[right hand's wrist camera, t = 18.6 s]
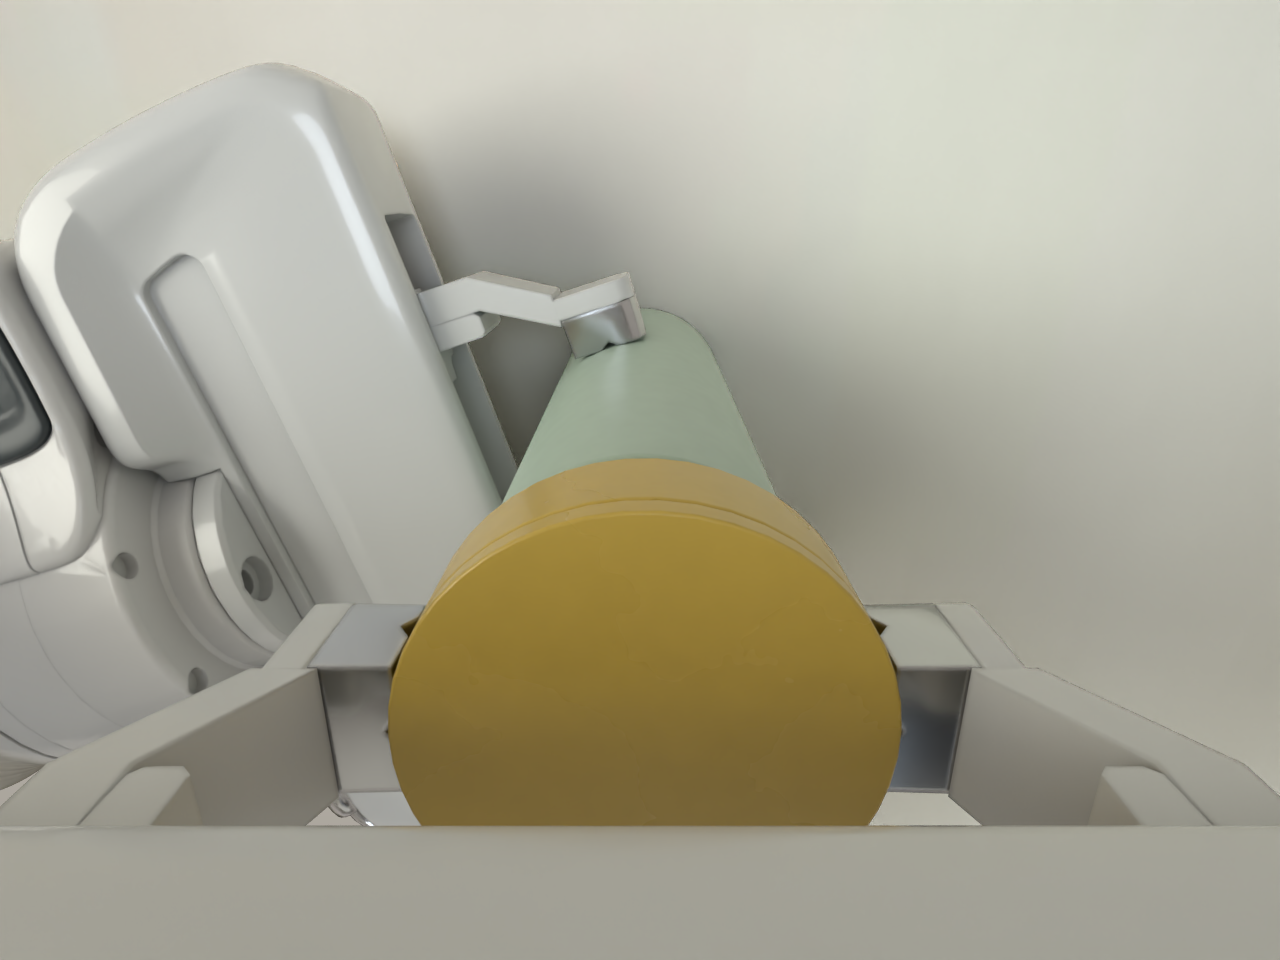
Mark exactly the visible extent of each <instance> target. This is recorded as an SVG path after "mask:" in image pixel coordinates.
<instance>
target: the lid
mask: <svg viewBox="0 0 1280 960" xmlns="http://www.w3.org/2000/svg"><path fill="white" fill-rule="evenodd" d="M901 731H902V722H901V699H900V694H899V689H898V683H897V678H896V673H895V670H894V668H893V665H892V662H891V659H890V657H889V654H888V651H887V649H886V646H885V644H884V642H883V640H882V639H881V637H880V635H879V633H878V632H877V630H876V628H875V626H874V624H873V623H872V621H871V619H870V617H869V615H868V614H867V612H866V610H865V608H864V607H863V605H862V603H861V601H860V599H859V598H858V596H857V594H856V592H855V590H854V589H853V587H852V585H851V583H850V582H849V580H848V578H847V576H846V574H845V573H844V571H843V569H842V567H841V566H840V564H839V562H838V560H837V558H836V557H835V555H834V553H833V552H832V550H831V549H830V548H829V546H828V545H827V544H826V543H825V541H824V540H823V539H822V537H821V536H820V535H819V533H818V532H817V531H816V530H815V529H814V528H813V527H812V526H811V525H810V524H809V523H808V522H807V521H806V520H805V519H804V518H803V517H802V516H801V515H800V514H799V513H798V512H797V511H795V510H794V509H793V508H791V507H790V506H788V505H787V504H786V503H784V502H783V501H782V500H780V499H779V498H778V497H776V496H775V495H773V494H772V493H770V492H768V491H766V490H764V489H763V488H761V487H759V486H757V485H755V484H753V483H751V482H750V481H748V480H746V479H743V478H740V477H738V476H735V475H732V474H730V473H727V472H725V471H722V470H719V469H716V468H712V467H708V466H703V465H699V464H695V463H691V462H686V461H677V460H668V459H659V458H639V459H620V460H612V461H605V462H598V463H592V464H589V465H585V466H581V467H578V468H574V469H570V470H566V471H563V472H561V473H559V474H556V475H554V476H551V477H549V478H546V479H544V480H541V481H539V482H537V483H535V484H533V485H531V486H530V487H528V488H526V489H524V490H523V491H521V492H519V493H517V494H516V495H514V496H512V497H511V498H509V499H508V500H507V501H505V502H504V503H503V504H502V505H500V506H499V507H498V508H496V509H495V510H494V511H492V512H491V513H490V514H489V515H487V516H486V517H485V519H484V520H483V521H482V522H481V523H480V524H479V525H478V526H477V527H476V528H475V529H474V530H473V531H472V532H471V533H470V534H469V535H468V536H467V538H466V539H465V540H464V542H463V543H462V544H461V546H460V547H459V549H458V550H457V551H456V553H455V554H454V555H453V557H452V559H451V561H450V562H449V564H448V566H447V568H446V570H445V572H444V573H443V575H442V577H441V579H440V581H439V583H438V585H437V586H436V588H435V590H434V592H433V594H432V596H431V598H430V599H429V601H428V603H427V605H426V607H425V609H424V611H423V612H422V614H421V616H420V618H419V620H418V622H417V623H416V625H415V627H414V629H413V631H412V633H411V635H410V637H409V639H408V641H407V643H406V644H405V646H404V648H403V650H402V653H401V656H400V659H399V662H398V665H397V668H396V670H395V673H394V676H393V680H392V686H391V692H390V698H389V704H388V737H389V744H390V750H391V756H392V763H393V766H394V769H395V772H396V775H397V779H398V782H399V785H400V788H401V790H402V792H403V794H404V796H405V798H406V800H407V803H408V805H409V807H410V809H411V811H412V813H413V814H414V816H415V817H416V819H417V820H418V822H419V823H420V825H421V826H868V825H869V823H870V822H871V820H872V819H873V817H874V816H875V814H876V813H877V811H878V809H879V807H880V805H881V803H882V801H883V799H884V797H885V794H886V792H887V790H888V788H889V786H890V783H891V780H892V776H893V773H894V770H895V766H896V763H897V760H898V753H899V746H900V739H901Z"/></svg>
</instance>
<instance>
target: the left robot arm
mask: <svg viewBox="0 0 1280 960" xmlns="http://www.w3.org/2000/svg"><path fill="white" fill-rule="evenodd" d="M500 315H502V316H507V317H512V318H517V319H522V320H527V321H532V322H537V323H542V324H547V325H552V326H557V327H562V326H563V327H564V330H565V333H566V335H567V338H568V341H569V343H570V346H571V349H572V351H573V354H574V357H575V359H578V358H581V357H585V356H588V355H591V354H594V353H597V352H601V351H602V350H603V349H604V347H605V346H606V345H607V343H608V342H611V343H614V344H617V345H622V344H625V343H628V342H631V341H634V340H637V339H639V338H641V337H643V336H644V335H646V327H645V324H644V320H643V317H642V314H641V310H640V307H639V303H638V300H637V297H636V293H635V291H634V287H633V284H632V281H631V278H630V275H629V272H623V273H619V274H615V275H612V276H609V277H606V278H603V279H600V280H597V281H594V282H591V283H588V284H585V285H582V286H579V287H576V288H573V289H570V290H567V291H564V292H561V291H560V288H559V287H555V286H550V285H546V284H541V283H537V282H532V281H528V280H523V279H519V278H515V277H510V276H506V275H501V274H497V273H492V272H488V271H481V272H478V273H475V274H472V275H469V276H466V277H463V278H460V279H457V280H454V281H451V282H448V283H446V284H444V282H443V279H442V277H441V274H440V272H439V269H438V266H437V264H436V261H435V259H434V256H433V254H432V251H431V249H430V246H429V244H428V241H427V239H426V236H425V234H424V231H423V229H422V226H421V224H420V221H419V219H418V216H417V214H416V211H415V209H414V206H413V204H412V201H411V199H410V196H409V194H408V191H407V189H406V186H405V184H404V181H403V179H402V176H401V174H400V171H399V169H398V166H397V164H396V161H395V159H394V156H393V154H392V151H391V149H390V146H389V144H388V141H387V139H386V136H385V133H384V131H383V128H382V126H381V123H380V121H379V119H378V116H377V114H376V112H375V110H374V109H373V108H372V106H371V105H370V104H369V103H368V102H367V101H366V100H365V99H364V98H362V97H361V96H359V95H357V94H355V93H354V92H352V91H350V90H348V89H346V88H344V87H343V86H341V85H339V84H337V83H335V82H333V81H332V80H330V79H328V78H325V77H323V76H321V75H319V74H316V73H313V72H311V71H308V70H305V69H302V68H299V67H296V66H293V65H287V64H281V63H261V64H255V65H250V66H246V67H243V68H241V69H238V70H235V71H232V72H230V73H227V74H224V75H221V76H219V77H217V78H214V79H212V80H209V81H207V82H205V83H202V84H200V85H198V86H195V87H193V88H191V89H189V90H187V91H185V92H182V93H180V94H178V95H176V96H174V97H172V98H170V99H167V100H165V101H163V102H162V103H160V104H158V105H156V106H154V107H152V108H150V109H148V110H146V111H144V112H142V113H140V114H138V115H136V116H135V117H133V118H131V119H129V120H127V121H125V122H124V123H122V124H120V125H118V126H116V127H115V128H113V129H111V130H109V131H107V132H106V133H104V134H103V135H101V136H99V137H98V138H96V139H95V140H93V141H91V142H90V143H88V144H86V145H85V146H83V147H82V148H80V149H78V150H77V151H75V152H74V153H72V154H70V155H69V156H67V157H66V158H64V159H63V160H61V161H60V162H59V163H58V164H56V165H55V166H54V167H53V168H51V169H50V170H49V171H48V172H47V173H46V174H45V175H44V176H43V177H42V178H41V179H40V180H39V181H38V182H37V183H36V184H35V186H34V187H33V188H32V189H31V191H30V192H29V194H28V195H27V197H26V199H25V200H24V202H23V204H22V207H21V209H20V211H19V214H18V217H17V220H16V226H15V231H14V239H8V240H1V241H0V790H2V789H4V788H7V787H9V786H12V785H14V784H16V783H18V782H20V781H22V780H24V779H25V778H27V777H29V776H31V775H32V774H34V773H35V772H37V771H39V770H40V769H41V768H42V767H43V766H45V765H46V764H47V763H49V762H51V761H53V760H55V759H57V758H59V757H61V756H64V755H66V754H68V753H70V752H72V751H74V750H76V749H79V748H81V747H83V746H85V745H87V744H89V743H91V742H93V741H96V740H98V739H100V738H102V737H104V736H106V735H108V734H111V733H113V732H115V731H117V730H119V729H121V728H123V727H126V726H128V725H130V724H132V723H134V722H136V721H138V720H140V719H143V718H145V717H147V716H149V715H151V714H153V713H155V712H158V711H160V710H162V709H164V708H166V707H168V706H170V705H173V704H175V703H177V702H179V701H181V700H183V699H185V698H188V697H190V696H192V695H194V694H196V693H198V692H200V691H202V690H205V689H207V688H209V687H211V686H213V685H215V684H217V683H220V682H222V681H224V680H226V679H228V678H230V677H232V676H235V675H237V674H239V673H241V672H243V671H245V670H247V669H249V668H263V666H264V665H265V664H266V663H267V662H268V660H269V659H270V658H271V657H272V656H273V654H274V653H275V652H276V651H277V650H278V648H279V647H280V646H281V645H282V644H283V642H284V641H285V640H286V639H287V638H288V636H289V635H290V634H291V633H292V632H293V630H294V629H295V628H296V627H297V626H298V624H299V623H300V622H301V621H302V620H303V618H304V617H305V616H306V615H307V614H308V612H309V611H310V610H311V609H312V608H313V607H314V606H315V605H317V604H323V603H355V604H359V603H360V604H413V605H427V603H428V601H429V599H430V598H431V596H432V594H433V592H434V590H435V588H436V586H437V585H438V583H439V581H440V579H441V577H442V575H443V573H444V572H445V570H446V568H447V566H448V564H449V562H450V561H451V559H452V557H453V555H454V554H455V553H456V551H457V550H458V549H459V547H460V546H461V544H462V543H463V542H464V540H465V539H466V538H467V536H468V535H469V534H470V533H471V532H472V531H473V530H474V529H475V528H476V527H477V526H478V525H479V524H480V523H481V522H482V521H483V520H484V519H485V517H486V516H487V515H489V514H490V513H491V512H492V511H494V510H495V509H496V508H498V507H499V506H500V505H502V502H503V500H504V498H505V496H506V494H507V492H508V490H509V487H510V485H511V483H512V481H513V479H514V477H515V475H516V472H517V470H518V467H517V465H516V462H515V460H514V457H513V455H512V452H511V450H510V447H509V445H508V442H507V440H506V437H505V435H504V432H503V430H502V427H501V425H500V422H499V419H498V417H497V414H496V412H495V409H494V407H493V404H492V402H491V399H490V397H489V394H488V392H487V389H486V387H485V384H484V382H483V379H482V377H481V374H480V372H479V369H478V367H477V364H476V362H475V359H474V357H473V354H472V352H471V349H470V347H469V344H468V342H471V341H474V340H477V339H480V338H483V337H484V336H485V335H487V334H488V333H489V332H490V331H491V330H493V329H494V328H495V327H496V326H497V325H499V323H500V321H501V317H500ZM328 807H329V808H330V809H331V811H332V812H333V813H335V814H336V815H337V816H338V817H347V816H351V817H352V818H353V819H354V820H355V821H356V822H358V823H359V824H361V825H362V826H421V825H420V823H419V822H418V820H417V819H416V817H415V816H414V814H413V813H412V811H411V809H410V807H409V805H408V803H407V800H406V798H405V796H404V794H403V792H371V793H339V798H337V799H336V800H335V801H334V802H333V803H332V804H330V805H329V806H328Z"/></svg>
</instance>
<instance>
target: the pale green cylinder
mask: <svg viewBox="0 0 1280 960" xmlns="http://www.w3.org/2000/svg"><path fill="white" fill-rule="evenodd" d="M640 310H641V314H642V317H643V320H644V324H645V327H646V335H644V336H643V337H641V338H639V339H637V340H634V341H631V342H628V343H625V344H622V345H617V344H614V343H611V342H608V343H607V345H606V346H605V347H604V349H603V350H602V351H601V352H597V353H594V354H591V355H588V356H585V357H581V358H578V359H575V357H574V354H573V352H572V354H571V357H570V359H569V361H568V363H567V365H566V367H565V369H564V372H563V374H562V376H561V378H560V380H559V382H558V384H557V387H556V389H555V391H554V393H553V395H552V397H551V399H550V402H549V404H548V406H547V408H546V410H545V412H544V414H543V417H542V419H541V421H540V423H539V425H538V427H537V429H536V432H535V434H534V436H533V438H532V440H531V442H530V445H529V447H528V449H527V451H526V453H525V455H524V457H523V460H522V462H521V464H520V466H519V468H518V470H517V472H516V475H515V477H514V479H513V481H512V483H511V485H510V487H509V490H508V492H507V494H506V496H505V498H504V500H503V502H502V504H503V503H504V502H505V501H507V500H508V499H509V498H511V497H512V496H514V495H516V494H517V493H519V492H521V491H523V490H524V489H526V488H528V487H530V486H531V485H533V484H535V483H537V482H539V481H541V480H544V479H546V478H549V477H551V476H554V475H556V474H559V473H561V472H563V471H566V470H570V469H574V468H578V467H581V466H585V465H589V464H592V463H598V462H605V461H612V460H620V459H639V458H659V459H668V460H677V461H686V462H691V463H695V464H699V465H703V466H708V467H712V468H716V469H719V470H722V471H725V472H727V473H730V474H732V475H735V476H738V477H740V478H743V479H746V480H748V481H750V482H751V483H753V484H755V485H757V486H759V487H761V488H763V489H764V490H766V491H768V492H770V493H772V494H773V495H775V496H776V497H777V495H776V493H775V491H774V489H773V487H772V484H771V482H770V480H769V478H768V475H767V473H766V471H765V469H764V467H763V464H762V462H761V460H760V458H759V455H758V453H757V451H756V449H755V446H754V444H753V442H752V440H751V438H750V435H749V433H748V431H747V429H746V426H745V424H744V422H743V420H742V418H741V415H740V413H739V411H738V409H737V406H736V404H735V402H734V400H733V397H732V395H731V393H730V391H729V389H728V386H727V384H726V382H725V380H724V377H723V375H722V373H721V371H720V369H719V366H718V364H717V362H716V360H715V357H714V355H713V353H712V351H711V349H710V347H709V345H708V344H707V342H706V341H705V339H704V338H703V337H702V336H701V335H700V333H699V332H698V331H697V330H696V329H695V328H693V327H692V326H691V325H690V324H689V323H687V322H686V321H684V320H683V319H681V318H679V317H677V316H675V315H673V314H670V313H667V312H664V311H661V310H656V309H647V308H640Z"/></svg>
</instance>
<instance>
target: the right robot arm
mask: <svg viewBox="0 0 1280 960" xmlns="http://www.w3.org/2000/svg"><path fill="white" fill-rule="evenodd" d="M425 607H426V605H413V604H360V603H359V604H355V603H323V604H317V605H315V606H314V607H313V608H312V609H311V610H310V611H309V612H308V614H307V615H306V616H305V617H304V618H303V620H302V621H301V622H300V623H299V624H298V626H297V627H296V628H295V629H294V630H293V632H292V633H291V634H290V635H289V636H288V638H287V639H286V640H285V641H284V642H283V644H282V645H281V646H280V647H279V648H278V650H277V651H276V652H275V653H274V654H273V656H272V657H271V658H270V659H269V660H268V662H267V663H266V664H265V665H264V666H263V668H249V669H247V670H245V671H243V672H241V673H239V674H237V675H235V676H232V677H230V678H228V679H226V680H224V681H222V682H220V683H217V684H215V685H213V686H211V687H209V688H207V689H205V690H202V691H200V692H198V693H196V694H194V695H192V696H190V697H188V698H185V699H183V700H181V701H179V702H177V703H175V704H173V705H170V706H168V707H166V708H164V709H162V710H160V711H158V712H155V713H153V714H151V715H149V716H147V717H145V718H143V719H140V720H138V721H136V722H134V723H132V724H130V725H128V726H126V727H123V728H121V729H119V730H117V731H115V732H113V733H111V734H108V735H106V736H104V737H102V738H100V739H98V740H96V741H93V742H91V743H89V744H87V745H85V746H83V747H81V748H79V749H76V750H74V751H72V752H70V753H68V754H66V755H64V756H61V757H59V758H57V759H55V760H53V761H51V762H49V763H47V764H46V765H45V766H43V767H42V768H41V769H40V770H39V771H38V772H37V773H36V774H35V775H34V776H33V777H32V778H31V779H30V780H28V781H27V782H26V783H25V784H24V785H23V786H22V787H21V788H20V789H19V790H18V791H17V792H15V793H14V794H13V795H12V796H11V797H10V798H9V799H8V800H7V801H6V802H5V803H4V804H3V805H1V806H0V960H1280V796H1279V795H1278V794H1277V793H1276V792H1275V791H1274V790H1272V789H1271V788H1270V787H1269V786H1268V785H1267V784H1266V783H1265V782H1264V781H1263V780H1262V779H1260V778H1259V777H1258V776H1257V775H1256V774H1255V773H1254V772H1253V771H1252V770H1251V769H1250V768H1249V767H1247V766H1246V765H1245V764H1243V763H1241V762H1239V761H1237V760H1235V759H1232V758H1230V757H1228V756H1226V755H1224V754H1222V753H1220V752H1217V751H1215V750H1213V749H1211V748H1209V747H1207V746H1205V745H1202V744H1200V743H1198V742H1196V741H1194V740H1192V739H1189V738H1187V737H1185V736H1183V735H1181V734H1179V733H1177V732H1174V731H1172V730H1170V729H1168V728H1166V727H1164V726H1161V725H1159V724H1157V723H1155V722H1153V721H1151V720H1149V719H1146V718H1144V717H1142V716H1140V715H1138V714H1136V713H1134V712H1131V711H1129V710H1127V709H1125V708H1123V707H1121V706H1118V705H1116V704H1114V703H1112V702H1110V701H1108V700H1106V699H1103V698H1101V697H1099V696H1097V695H1095V694H1093V693H1090V692H1088V691H1086V690H1084V689H1082V688H1080V687H1078V686H1075V685H1073V684H1071V683H1069V682H1067V681H1065V680H1063V679H1060V678H1058V677H1056V676H1054V675H1052V674H1050V673H1047V672H1045V671H1043V670H1041V669H1039V668H1026V667H1025V666H1024V665H1023V664H1022V663H1021V661H1020V660H1019V659H1018V658H1017V657H1016V656H1015V654H1014V653H1013V652H1012V651H1011V650H1010V649H1009V647H1008V646H1007V645H1006V644H1005V643H1004V641H1003V640H1002V639H1001V638H1000V637H999V636H998V634H997V633H996V632H995V631H994V630H993V629H992V627H991V626H990V625H989V624H988V623H987V622H986V620H985V619H984V618H983V617H982V616H981V615H980V613H979V612H978V611H977V610H976V609H975V608H974V606H972V605H970V604H967V603H943V604H933V603H932V604H891V605H863V607H864V608H865V610H866V612H867V614H868V615H869V617H870V619H871V621H872V623H873V624H874V626H875V628H876V630H877V632H878V633H879V635H880V637H881V639H882V640H883V642H884V644H885V646H886V649H887V651H888V654H889V657H890V659H891V662H892V665H893V668H894V670H895V673H896V678H897V683H898V689H899V694H900V699H901V722H902V731H901V739H900V746H899V753H898V760H897V763H896V766H895V770H894V773H893V776H892V780H891V783H890V786H889V788H888V790H887V792H915V793H949V795H948V797H950V798H951V799H952V800H953V801H954V802H955V803H957V804H958V805H959V806H960V807H961V808H963V809H964V810H965V811H966V812H967V813H968V814H970V815H971V816H972V817H973V818H974V819H976V820H977V821H978V822H979V823H980V824H981V825H983V826H306V825H307V824H308V823H309V822H310V821H312V820H313V819H314V818H315V817H316V816H317V815H319V814H320V813H321V812H322V811H323V810H325V809H326V808H327V807H328V806H329V805H330V804H332V803H333V802H334V801H335V800H336V799H337V798H339V793H371V792H402V790H401V788H400V785H399V782H398V779H397V775H396V772H395V769H394V766H393V763H392V756H391V750H390V744H389V737H388V704H389V698H390V692H391V686H392V680H393V676H394V673H395V670H396V668H397V665H398V662H399V659H400V656H401V653H402V650H403V648H404V646H405V644H406V643H407V641H408V639H409V637H410V635H411V633H412V631H413V629H414V627H415V625H416V623H417V622H418V620H419V618H420V616H421V614H422V612H423V611H424V609H425Z"/></svg>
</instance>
